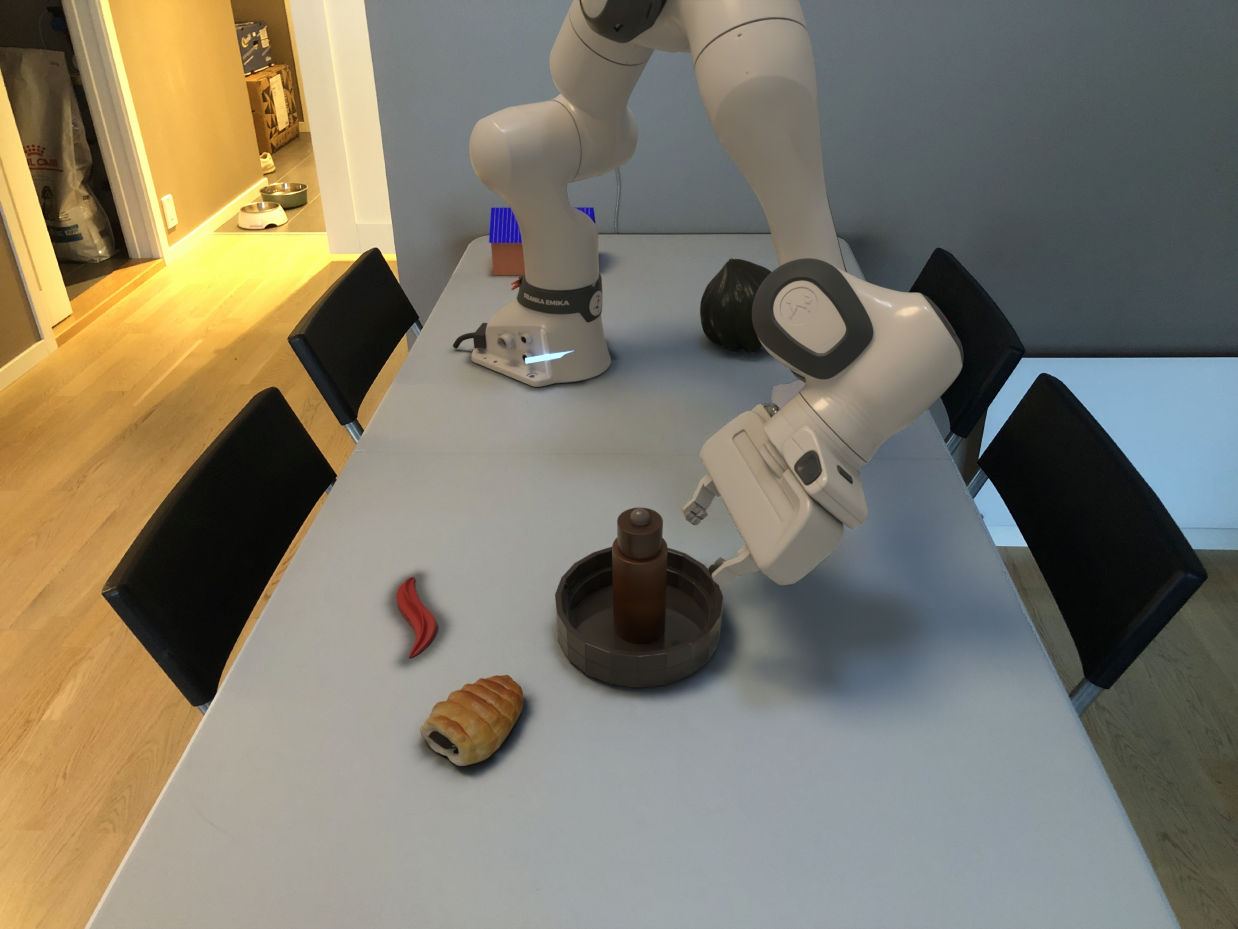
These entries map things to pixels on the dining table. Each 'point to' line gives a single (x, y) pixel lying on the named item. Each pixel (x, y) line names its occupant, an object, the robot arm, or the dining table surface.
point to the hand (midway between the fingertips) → (700, 547)
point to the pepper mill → (639, 576)
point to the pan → (638, 664)
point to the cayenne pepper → (416, 616)
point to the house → (511, 241)
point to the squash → (732, 305)
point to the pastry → (474, 719)
